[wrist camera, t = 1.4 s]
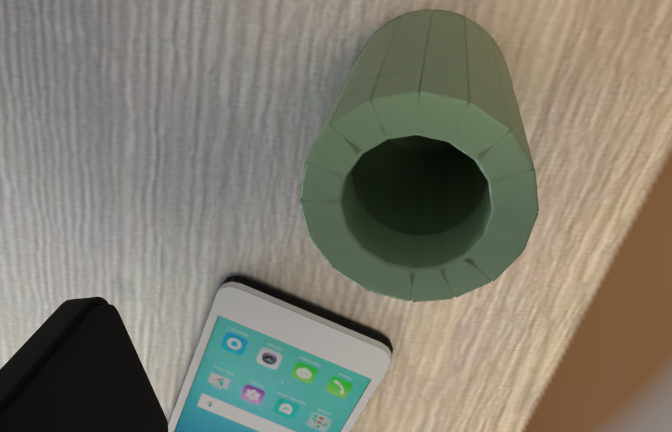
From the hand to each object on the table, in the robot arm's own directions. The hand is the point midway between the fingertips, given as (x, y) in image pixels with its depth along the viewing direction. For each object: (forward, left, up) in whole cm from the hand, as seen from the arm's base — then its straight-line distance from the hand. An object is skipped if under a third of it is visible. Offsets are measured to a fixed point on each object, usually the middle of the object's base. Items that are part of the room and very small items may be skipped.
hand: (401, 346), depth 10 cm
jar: (0, 0, -12) cm, 12 cm away
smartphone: (+13, -10, -12) cm, 20 cm away
